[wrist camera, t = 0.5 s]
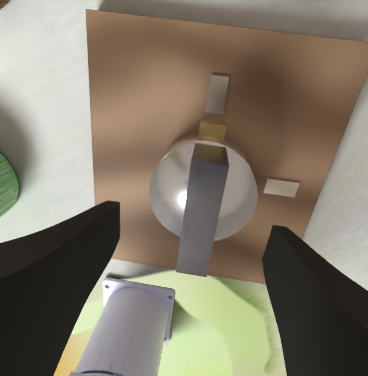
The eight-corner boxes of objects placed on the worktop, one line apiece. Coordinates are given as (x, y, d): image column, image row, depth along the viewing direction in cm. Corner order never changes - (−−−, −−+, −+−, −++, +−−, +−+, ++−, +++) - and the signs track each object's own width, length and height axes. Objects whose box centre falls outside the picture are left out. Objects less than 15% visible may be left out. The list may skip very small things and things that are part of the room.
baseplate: (278, 275, 24) (283, 288, 23) (103, 246, 25) (96, 257, 24) (365, 46, 16) (381, 43, 14) (95, 14, 17) (84, 8, 15)
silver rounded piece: (239, 222, 20) (250, 284, 14) (156, 209, 21) (133, 264, 15) (263, 124, 17) (292, 152, 11) (163, 111, 17) (137, 131, 11)
